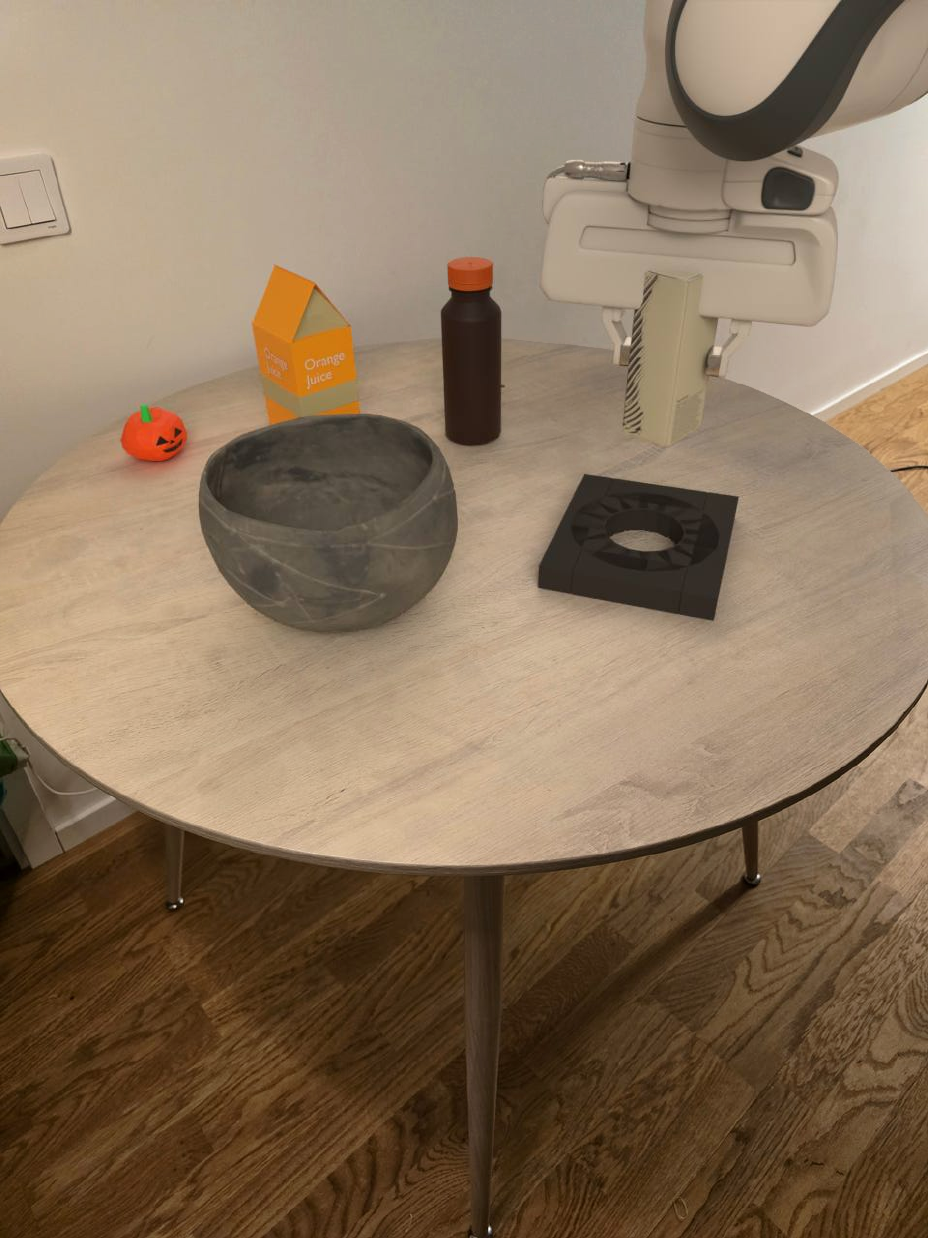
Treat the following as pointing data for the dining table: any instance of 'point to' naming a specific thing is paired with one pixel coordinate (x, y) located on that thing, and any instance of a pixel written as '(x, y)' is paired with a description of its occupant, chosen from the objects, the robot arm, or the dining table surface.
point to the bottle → (471, 354)
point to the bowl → (330, 519)
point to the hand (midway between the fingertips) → (669, 368)
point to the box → (668, 359)
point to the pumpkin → (153, 434)
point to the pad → (642, 577)
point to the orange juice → (303, 351)
